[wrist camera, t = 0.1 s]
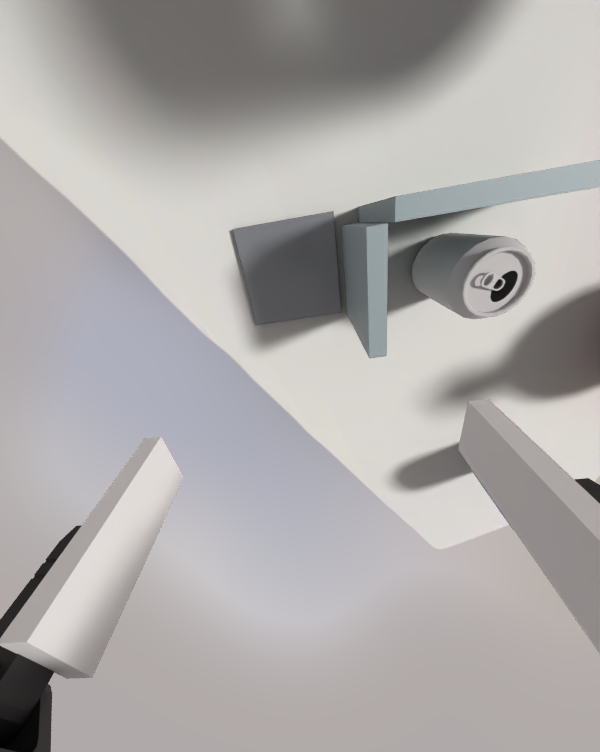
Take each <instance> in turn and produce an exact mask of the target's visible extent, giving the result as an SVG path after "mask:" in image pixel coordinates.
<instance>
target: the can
mask: <svg viewBox="0 0 600 752" xmlns="http://www.w3.org/2000/svg"><path fill="white" fill-rule="evenodd" d="M534 276H535V262H534V260H533V258H532V256H531V254H530V253H529V252H528V251H527V249H526V247H525V246H524V245H523V244H522V243H521V242H519V241H518V240H517V239H513V238H509V237H504V236H490V235H475V234H459V233H448V234H441V235H439V236H437V237H435V238H433V239H431V240H430V241H429V242H428V243H427V244H425V245H424V246H423V247H422V249H421V250H420V251H419V253H418V254H417V256H416V258H415V261H414V264H413V268H412V278H413V282H414V285H415V286H416V288H417V289H418V291H420V292H421V293H423V294H424V295H426V296H428V297H429V298H431V299H433V300H435V301H436V302H438V303H440V304H441V305H443V306H445V307H447V308H448V309H450V310H452V311H454V312H455V313H457V314H459V315H460V316H462V317H465V318H470V319H480V318H487V317H494V316H497V315H500V314H502V313H505V312H507V311H508V310H510V309H511V308H513V307H514V306H516V305H517V304H518V303H519V302H520V301H521V300H522V299H523V298H524V296H525V295H526V294H527V292H528V290H529V289H530V287H531V285H532V283H533V279H534Z"/></svg>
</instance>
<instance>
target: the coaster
mask: <svg viewBox="0 0 600 752" xmlns="http://www.w3.org/2000/svg"><path fill="white" fill-rule="evenodd" d="M233 232H234V236H235V240H236V244H237V248H238V252H239V256H240V261H241V265H242V269H243V273H244V277H245V281H246V285H247V289H248V293H249V297H250V301H251V306H252V310H253V314H254V318H255V322H256V325H259V324H266V323H273V322H280V321H286V320H293V319H300V318H307V317H314V316H320V315H327V314H334V313H341V305H340V292H339V279H338V266H337V253H336V240H335V226H334V213H333V211H332V212H326V213H321V214H315V215H310V216H304V217H298V218H293V219H287V220H281V221H276V222H270V223H265V224H259V225H253V226H248V227H242V228H237V229H233Z"/></svg>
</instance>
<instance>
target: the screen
mask: <svg viewBox="0 0 600 752" xmlns="http://www.w3.org/2000/svg"><path fill="white" fill-rule="evenodd" d="M597 187H600V160H596V161H590V162H585V163H579V164H574V165H568V166H563V167H557V168H551V169H546V170H540V171H535V172H529V173H523V174H518V175H512V176H507V177H501V178H495V179H490V180H484V181H479V182H473V183H468V184H462V185H456V186H451V187H445V188H440V189H434V190H428V191H423V192H417V193H412V194H406V195H400V196H395V197H392V198H388V199H385V200H381V201H378V202H374V203H370V204H367V205H363V206H360V207H358V208H359V223H354V224H348V225H342V242H343V257H344V273H345V288H346V304H347V315H348V317H349V319H350V321H351V323H352V325H353V327H354V329H355V331H356V333H357V335H358V337H359V339H360V341H361V343H362V345H363V347H364V349H365V351H366V353H367V355H368V356H369V358H376V357H384V356H387V277H388V223H366V222H399V221H405V220H411V219H416V218H422V217H428V216H434V215H440V214H446V213H451V212H457V211H463V210H469V209H475V208H481V207H486V206H492V205H498V204H504V203H510V202H516V201H521V200H527V199H533V198H539V197H545V196H551V195H556V194H562V193H568V192H574V191H580V190H586V189H591V188H597Z"/></svg>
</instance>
